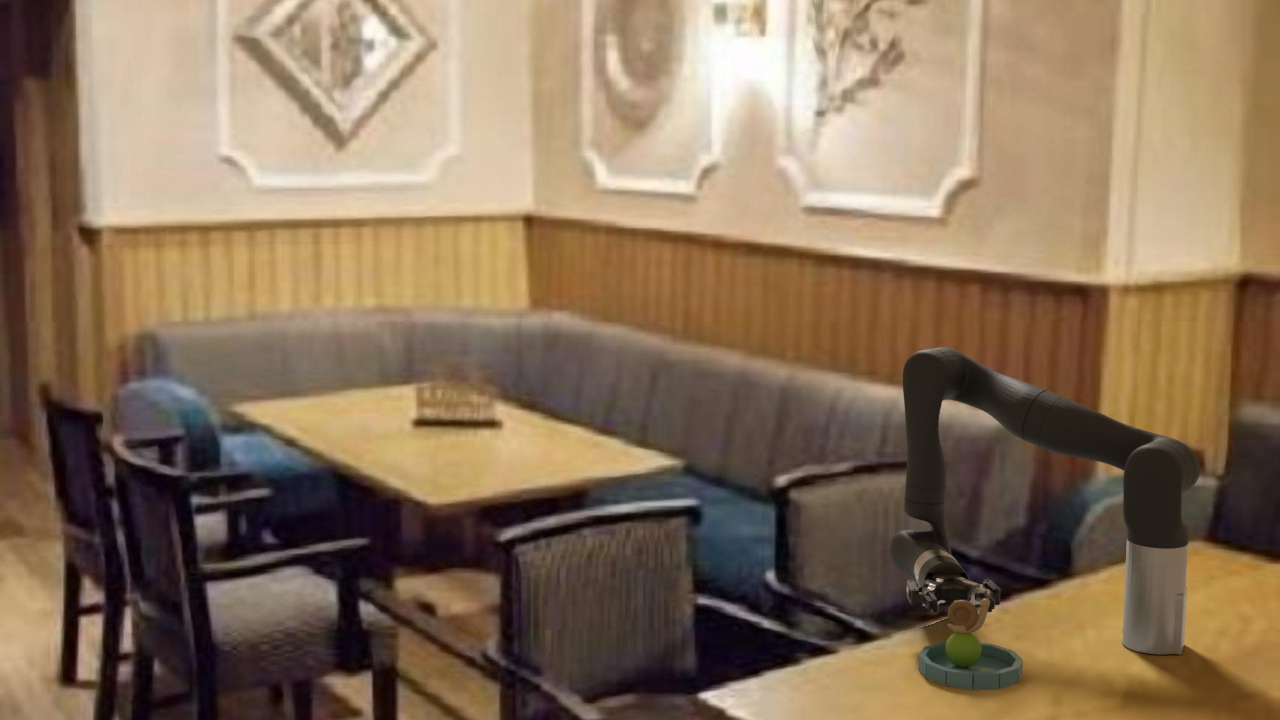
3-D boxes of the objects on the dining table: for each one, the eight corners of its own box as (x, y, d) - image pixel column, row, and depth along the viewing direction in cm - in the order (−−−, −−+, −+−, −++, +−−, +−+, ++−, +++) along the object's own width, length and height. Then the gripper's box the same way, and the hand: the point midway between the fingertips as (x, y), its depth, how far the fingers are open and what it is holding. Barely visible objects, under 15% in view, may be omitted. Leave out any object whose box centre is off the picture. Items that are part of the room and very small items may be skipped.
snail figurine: (987, 674, 228) (990, 596, 226) (944, 670, 229) (946, 593, 228) (987, 662, 233) (990, 586, 231) (945, 659, 235) (947, 583, 233)
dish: (1029, 663, 235) (1029, 648, 235) (1010, 695, 221) (1011, 679, 221) (932, 650, 241) (933, 636, 241) (909, 680, 227) (909, 665, 227)
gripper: (898, 555, 251) (917, 583, 235) (983, 554, 252) (1009, 582, 236) (897, 598, 252) (916, 630, 236) (982, 598, 253) (1007, 629, 237)
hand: (962, 606), depth 236 cm, fingers open, 8 cm apart
